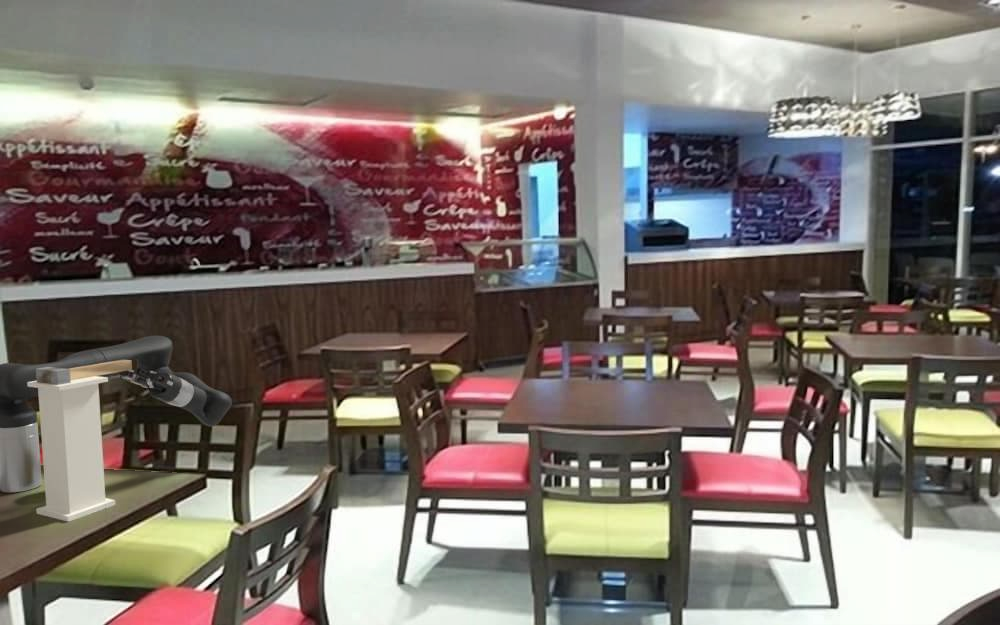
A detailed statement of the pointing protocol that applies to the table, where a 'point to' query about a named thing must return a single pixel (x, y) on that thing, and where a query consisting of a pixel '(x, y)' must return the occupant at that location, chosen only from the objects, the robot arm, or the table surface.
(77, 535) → the table surface
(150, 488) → the table surface
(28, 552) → the table surface
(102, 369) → the hammer
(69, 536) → the table surface
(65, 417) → the stand
